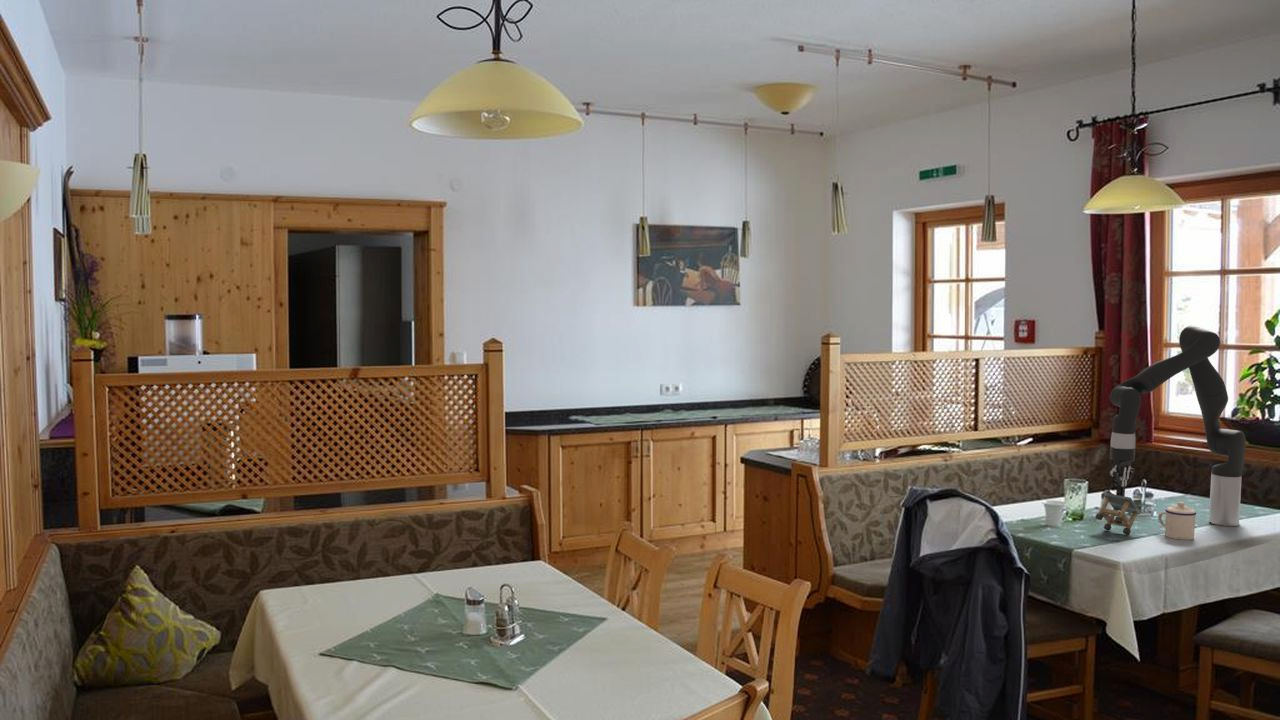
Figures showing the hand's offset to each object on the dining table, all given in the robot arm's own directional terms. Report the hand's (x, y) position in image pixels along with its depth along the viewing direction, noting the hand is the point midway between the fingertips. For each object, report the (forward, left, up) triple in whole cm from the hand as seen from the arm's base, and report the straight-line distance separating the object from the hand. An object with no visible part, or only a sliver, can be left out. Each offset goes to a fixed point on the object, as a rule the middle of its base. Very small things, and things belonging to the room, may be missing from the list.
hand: (1120, 497), depth 344 cm
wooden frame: (-2, 0, -8) cm, 9 cm away
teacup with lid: (-11, +13, -12) cm, 21 cm away
